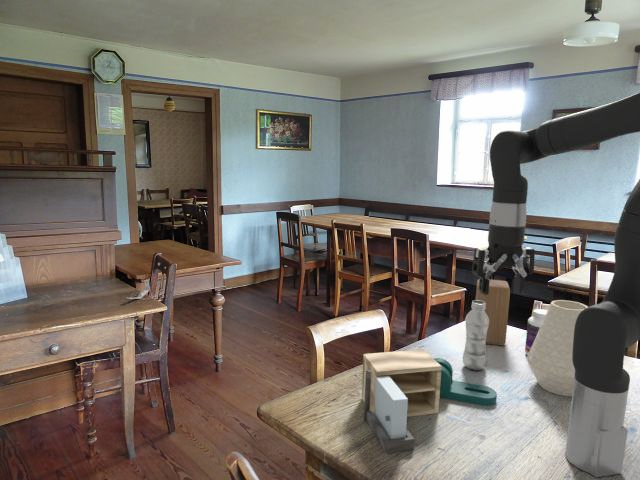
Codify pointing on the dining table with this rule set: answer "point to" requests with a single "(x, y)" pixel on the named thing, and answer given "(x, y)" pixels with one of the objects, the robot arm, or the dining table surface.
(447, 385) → the bracket
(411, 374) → the wooden caddy
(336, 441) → the dining table surface
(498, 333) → the wooden block
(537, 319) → the pill bottle
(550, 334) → the vase
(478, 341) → the plastic bottle
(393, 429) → the door
